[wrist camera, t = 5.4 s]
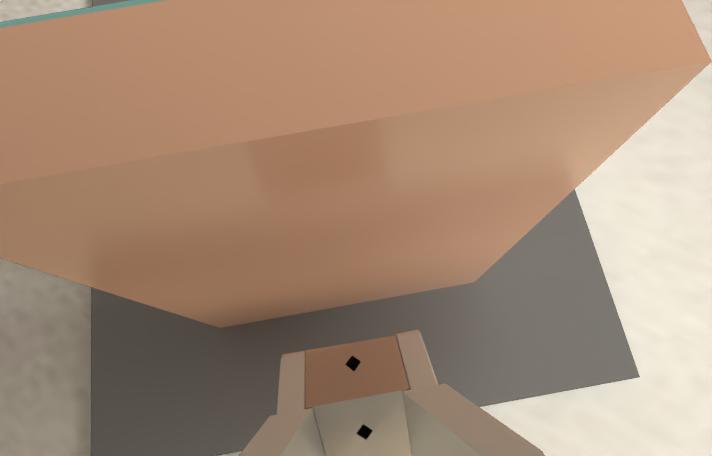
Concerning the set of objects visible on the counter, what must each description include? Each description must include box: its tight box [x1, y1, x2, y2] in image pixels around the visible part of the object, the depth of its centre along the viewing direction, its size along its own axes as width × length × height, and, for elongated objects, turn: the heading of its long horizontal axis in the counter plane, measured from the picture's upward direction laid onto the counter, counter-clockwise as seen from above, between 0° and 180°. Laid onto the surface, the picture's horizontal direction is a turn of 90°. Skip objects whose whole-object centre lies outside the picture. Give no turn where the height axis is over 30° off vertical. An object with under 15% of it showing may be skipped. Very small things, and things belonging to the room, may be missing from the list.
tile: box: [0, 0, 712, 328], centre depth 11 cm, size 2×9×12 cm, turn 100°
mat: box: [91, 0, 640, 456], centre depth 19 cm, size 22×18×1 cm
